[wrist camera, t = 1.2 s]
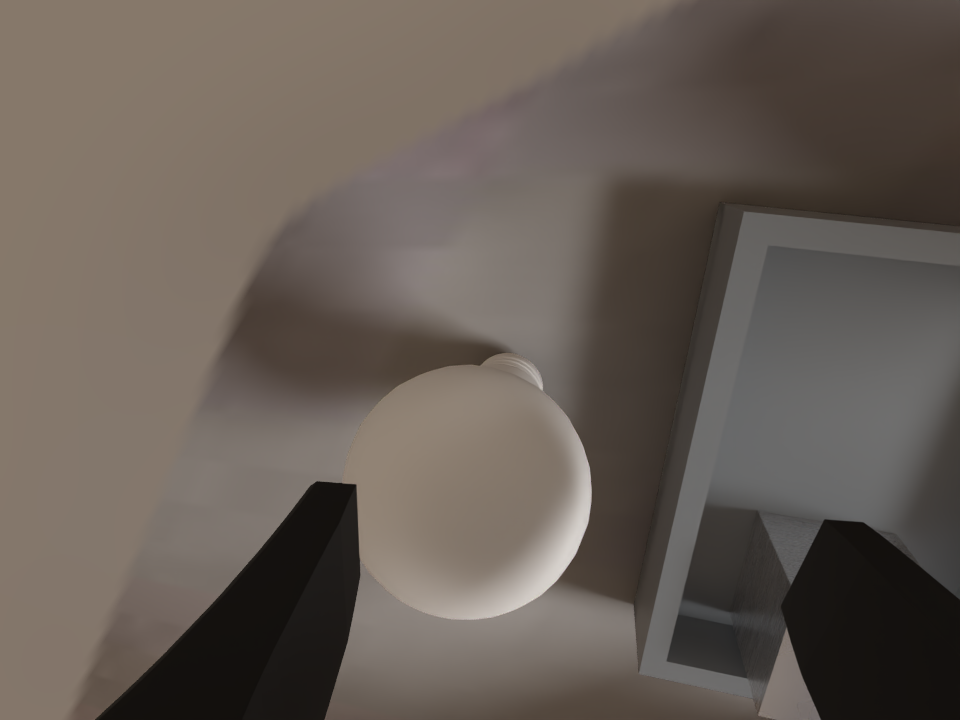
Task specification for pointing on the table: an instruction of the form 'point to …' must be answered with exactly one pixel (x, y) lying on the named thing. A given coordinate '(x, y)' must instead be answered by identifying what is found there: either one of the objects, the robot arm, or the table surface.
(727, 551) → the tote
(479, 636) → the table surface
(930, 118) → the table surface
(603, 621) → the table surface
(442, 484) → the lightbulb
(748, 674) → the steel block
